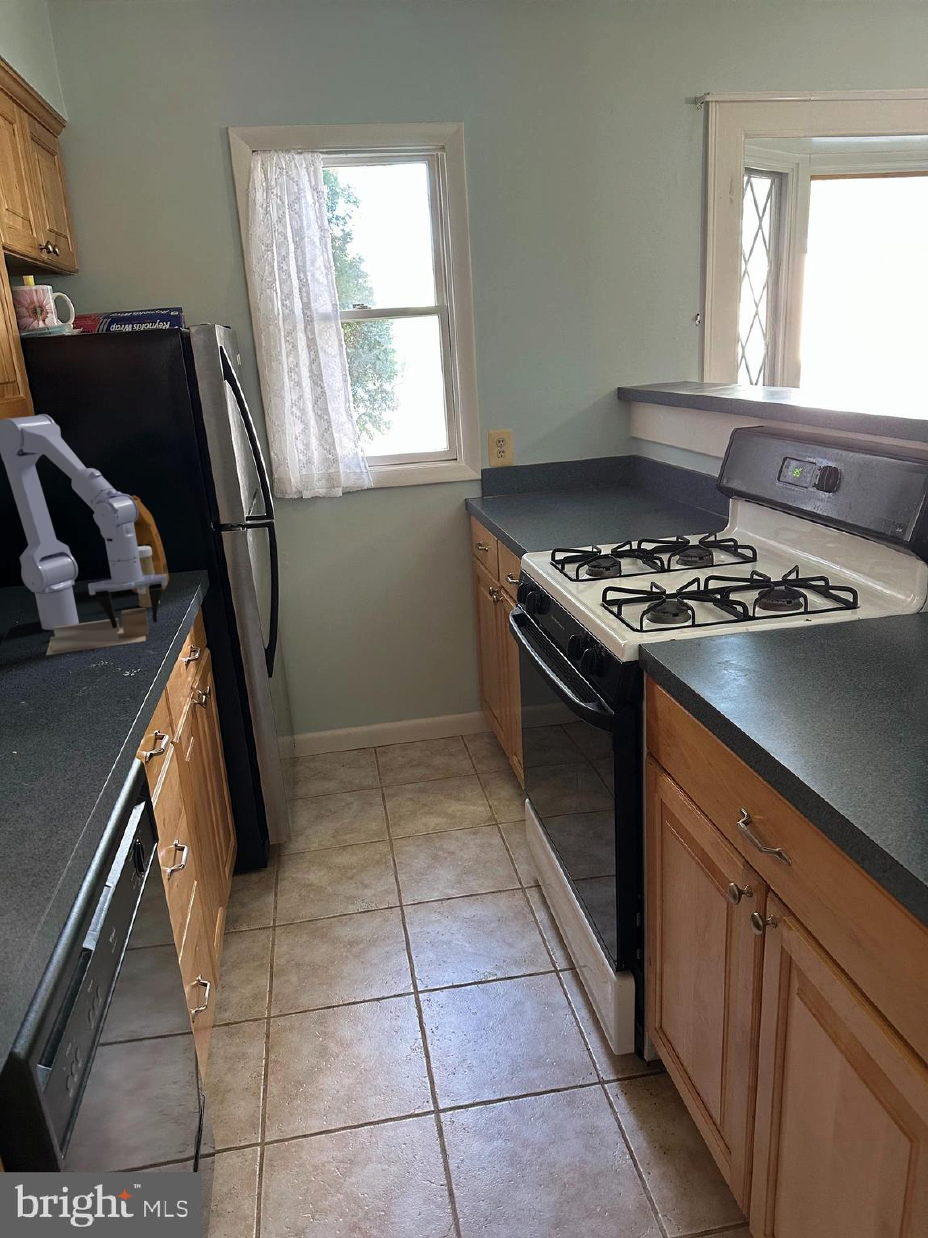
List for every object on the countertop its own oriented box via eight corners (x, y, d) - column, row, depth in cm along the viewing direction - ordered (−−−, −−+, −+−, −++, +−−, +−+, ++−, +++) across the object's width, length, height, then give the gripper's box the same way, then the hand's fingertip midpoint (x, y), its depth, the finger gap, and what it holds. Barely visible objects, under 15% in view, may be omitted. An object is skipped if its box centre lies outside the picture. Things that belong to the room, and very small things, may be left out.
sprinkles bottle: (162, 605, 202) (153, 547, 198) (142, 609, 199) (132, 550, 195) (157, 601, 205) (148, 544, 201) (136, 605, 203) (127, 547, 199)
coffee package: (124, 595, 212) (109, 504, 205) (130, 583, 223) (115, 496, 217) (168, 590, 214) (154, 500, 207) (171, 578, 225) (158, 492, 219)
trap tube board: (52, 641, 179) (49, 625, 178) (145, 628, 185) (143, 612, 184) (47, 660, 168) (43, 642, 167) (146, 645, 174) (143, 628, 173)
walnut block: (125, 631, 180) (121, 610, 179) (148, 628, 181) (145, 607, 180) (124, 638, 176) (121, 616, 175) (148, 634, 177) (145, 613, 176)
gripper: (83, 567, 168) (95, 635, 172) (162, 557, 173) (173, 623, 177) (85, 559, 174) (97, 625, 179) (162, 550, 179) (172, 614, 183)
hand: (135, 624), depth 178 cm, fingers open, 7 cm apart
